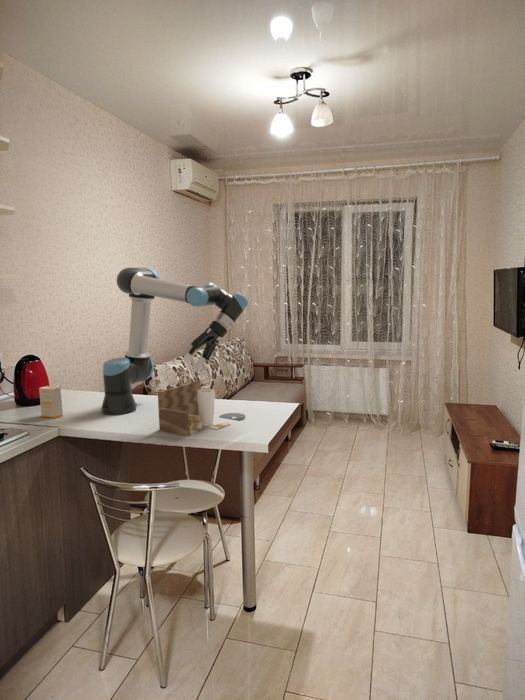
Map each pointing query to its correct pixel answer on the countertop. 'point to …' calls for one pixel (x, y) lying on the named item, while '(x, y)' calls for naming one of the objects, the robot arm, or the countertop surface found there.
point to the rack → (178, 408)
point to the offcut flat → (219, 426)
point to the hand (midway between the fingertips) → (189, 365)
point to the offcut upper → (193, 419)
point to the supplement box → (51, 401)
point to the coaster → (233, 416)
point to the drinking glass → (206, 406)
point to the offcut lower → (195, 428)
